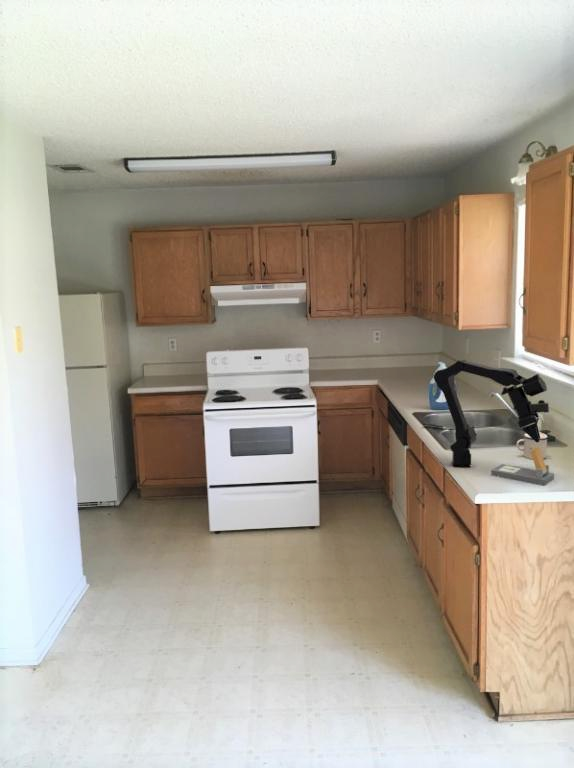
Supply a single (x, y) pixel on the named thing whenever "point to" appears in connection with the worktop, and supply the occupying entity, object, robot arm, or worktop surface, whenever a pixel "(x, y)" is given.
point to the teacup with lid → (533, 445)
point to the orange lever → (538, 460)
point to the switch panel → (523, 474)
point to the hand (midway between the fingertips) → (538, 440)
